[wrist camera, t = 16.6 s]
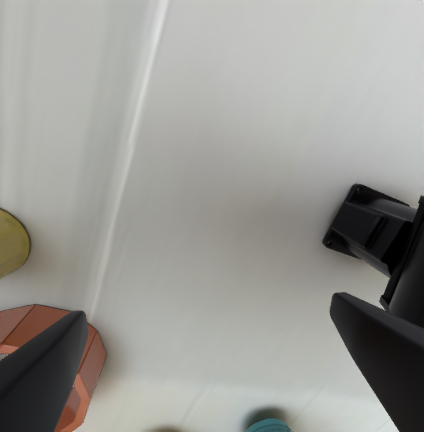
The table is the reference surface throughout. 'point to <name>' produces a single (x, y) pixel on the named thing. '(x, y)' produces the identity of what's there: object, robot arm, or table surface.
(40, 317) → the terracotta ring
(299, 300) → the table surface
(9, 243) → the vase
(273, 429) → the beverage bottle
